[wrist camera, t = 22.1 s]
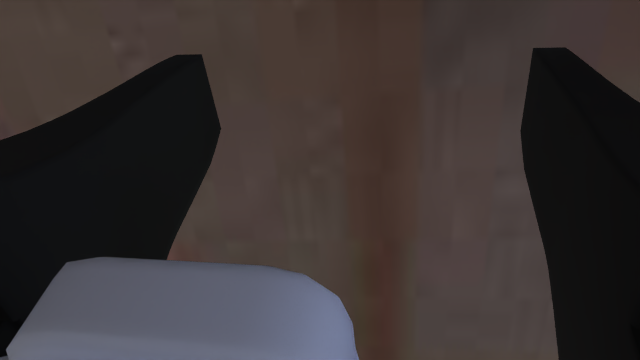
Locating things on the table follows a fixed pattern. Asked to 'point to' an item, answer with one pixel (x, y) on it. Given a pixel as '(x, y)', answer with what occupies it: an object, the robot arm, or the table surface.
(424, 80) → the table surface
